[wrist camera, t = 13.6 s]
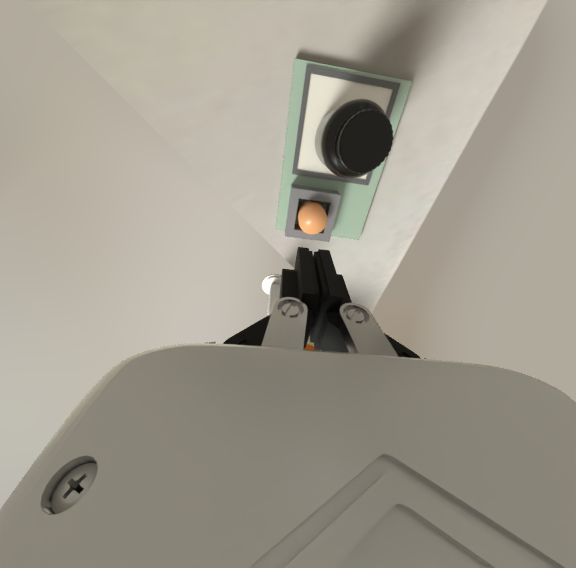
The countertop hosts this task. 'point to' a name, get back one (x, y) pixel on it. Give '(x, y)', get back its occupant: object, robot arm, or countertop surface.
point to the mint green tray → (303, 158)
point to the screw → (272, 289)
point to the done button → (311, 217)
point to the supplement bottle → (354, 138)
